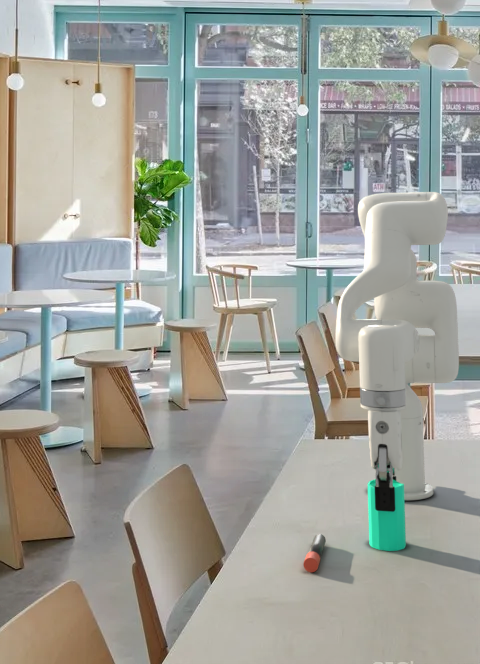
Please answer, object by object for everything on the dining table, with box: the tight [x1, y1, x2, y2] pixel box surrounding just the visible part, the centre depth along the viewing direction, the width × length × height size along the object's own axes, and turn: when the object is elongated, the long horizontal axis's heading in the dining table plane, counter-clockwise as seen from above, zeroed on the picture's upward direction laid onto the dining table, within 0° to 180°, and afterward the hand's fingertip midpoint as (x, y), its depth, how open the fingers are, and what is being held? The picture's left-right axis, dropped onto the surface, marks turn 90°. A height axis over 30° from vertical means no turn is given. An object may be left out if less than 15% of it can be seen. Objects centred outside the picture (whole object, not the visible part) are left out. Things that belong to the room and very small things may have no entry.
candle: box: [367, 478, 407, 552], centre depth 174 cm, size 6×6×12 cm
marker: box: [302, 533, 327, 573], centre depth 168 cm, size 14×2×2 cm, turn 162°
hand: (386, 503), depth 174 cm, fingers closed on candle, 6 cm apart
